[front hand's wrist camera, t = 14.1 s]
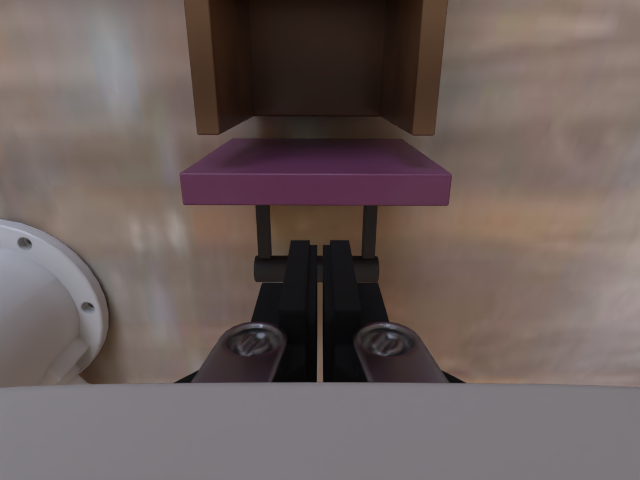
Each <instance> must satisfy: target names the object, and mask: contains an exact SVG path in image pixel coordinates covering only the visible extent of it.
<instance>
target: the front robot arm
mask: <svg viewBox="0 0 640 480" xmlns="http://www.w3.org/2000/svg"><path fill="white" fill-rule="evenodd" d="M108 327H109V312H108V308H107V303H106V299H105V296H104V293H103V291H102V289H101V287H100V284H99V282H98V280H97V279H96V277H95V276H94V275H93V273H92V272H91V270H90V269H89V267H88V266H87V265H86V264H85V263H84V262H83V261H82V260H81V258H80V257H79V256H78V255H77V254H76V253H75V252H73V251H72V250H71V249H70V248H68V247H67V246H66V245H64V244H63V243H62V242H61V241H59V240H58V239H56V238H54V237H52V236H50V235H49V234H47V233H45V232H43V231H41V230H39V229H36V228H33V227H31V226H28V225H25V224H23V223H18V222H13V221H8V220H3V219H0V480H640V388H637V387H621V386H593V385H556V384H486V383H465V382H463V381H461V380H459V379H457V378H456V377H454V376H452V375H450V374H448V373H446V372H444V371H442V370H441V369H440V368H439V366H438V365H437V363H436V362H435V360H434V358H433V357H432V355H431V354H430V352H429V351H428V349H427V348H426V346H425V345H424V343H423V342H422V340H421V339H420V337H419V336H418V335H417V334H416V333H415V332H414V331H413V330H411V329H410V328H408V327H406V326H403V325H400V324H398V323H392V322H389V320H388V316H387V313H386V309H385V306H384V302H383V299H382V295H381V292H380V288H379V285H378V283H357V282H356V276H355V271H354V265H353V260H352V255H351V249H350V244H349V240H330V245H323V382H317V245H310V240H291V244H290V249H289V255H288V260H287V265H286V271H285V276H284V282H283V283H262V285H261V288H260V292H259V295H258V299H257V302H256V306H255V309H254V313H253V316H252V320H251V322H248V323H242V324H240V325H237V326H234V327H232V328H230V329H229V330H227V331H226V332H225V333H224V334H223V335H222V336H221V337H220V339H219V340H218V342H217V343H216V345H215V346H214V348H213V349H212V351H211V352H210V354H209V355H208V357H207V358H206V360H205V362H204V363H203V365H202V366H201V368H200V369H199V370H198V371H196V372H194V373H192V374H190V375H188V376H186V377H184V378H183V379H181V380H179V381H177V382H175V383H156V384H90V383H89V382H88V383H87V382H86V381H85V380H84V379H83V378H82V377H81V376H80V375H79V374H80V373H81V372H82V371H83V370H84V369H85V368H86V367H88V366H89V365H90V363H91V362H92V361H93V360H94V358H95V357H96V356H97V355H98V353H99V352H100V350H101V348H102V346H103V344H104V342H105V340H106V336H107V332H108Z"/></svg>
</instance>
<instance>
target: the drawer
mask: <svg viewBox="0 0 640 480" xmlns="http://www.w3.org/2000/svg"><path fill="white" fill-rule="evenodd" d="M447 3H448V0H184V6H185V16H186V26H187V36H188V46H189V56H190V66H191V76H192V86H193V96H194V106H195V117H196V127H197V134H198V135H219V134H221V133H223V132H225V131H227V130H228V129H230V128H232V127H234V126H236V125H238V124H240V123H242V122H244V121H245V120H247V119H249V118H251V117H253V116H380V117H382V118H384V119H386V120H388V121H389V122H391V123H393V124H394V125H396V126H398V127H400V128H401V129H403V130H405V131H406V132H408V133H410V134H412V135H423V136H433V135H434V134H435V124H436V114H437V104H438V94H439V84H440V74H441V64H442V54H443V44H444V34H445V24H446V14H447ZM451 179H452V174H450V173H449V172H448V171H446V170H445V169H443V168H442V167H441V166H439V165H438V164H436V163H435V162H434V161H432V160H431V159H429V158H428V157H426V156H425V155H424V154H422V153H421V152H419V151H418V150H417V149H415V148H414V147H412V146H411V145H410V144H408V143H407V142H405V141H404V140H402V139H231V140H230V141H228V142H227V143H225V144H224V145H222V146H221V147H219V148H218V149H216V150H215V151H213V152H212V153H210V154H209V155H207V156H206V157H204V158H203V159H201V160H199V161H198V162H196V163H195V164H193V165H192V166H190V167H189V168H187V169H186V170H184V171H183V172H181V173H180V181H181V190H182V198H183V204H184V205H256V221H257V240H258V256H256V257H255V261H254V278H255V281H256V282H284V276H285V271H286V265H287V260H288V256H271V255H272V248H271V224H270V205H364V208H363V232H362V256H352V260H353V265H354V271H355V276H356V282H378V279H379V260H378V257H377V256H375V242H376V224H377V205H378V206H447V205H448V204H449V196H450V187H451ZM317 282H323V256H317Z"/></svg>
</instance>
